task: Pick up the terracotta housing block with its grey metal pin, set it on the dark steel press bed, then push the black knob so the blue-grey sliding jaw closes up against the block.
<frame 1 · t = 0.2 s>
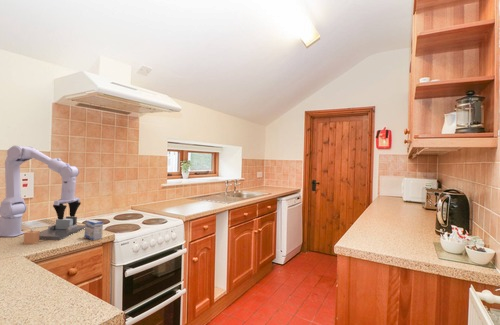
hand: (66, 217, 136), 10 cm above the worktop, tool pointing down, fingers open, 7 cm apart
medicine box: (93, 238, 138), on the worktop
press bed: (60, 233, 144), on the worktop
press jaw: (67, 222, 150), point 4 cm above the worktop, slide at 0.0 cm
housing block: (31, 242, 126), on the worktop
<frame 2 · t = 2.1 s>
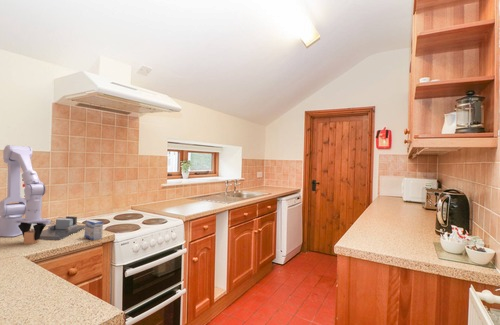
hand: (31, 239, 126), 1 cm above the worktop, tool pointing down, fingers closed on housing block, 4 cm apart
housing block: (31, 242, 126), on the worktop, touching gripper
everything else where it was.
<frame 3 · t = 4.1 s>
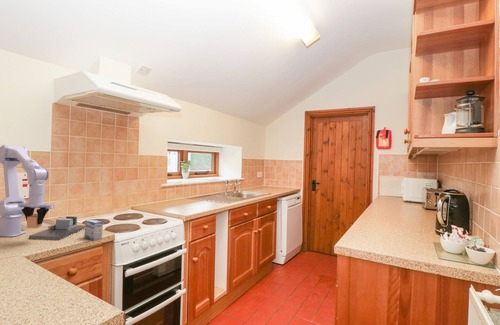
hand: (34, 223, 127), 8 cm above the worktop, tool pointing down, fingers closed on housing block, 4 cm apart
housing block: (34, 227, 127), point 7 cm above the worktop, touching gripper
everything else where it was.
when the fingers open (4 cm above the worktop, at t = 5.9 s): housing block drops 1 cm, resting on press bed.
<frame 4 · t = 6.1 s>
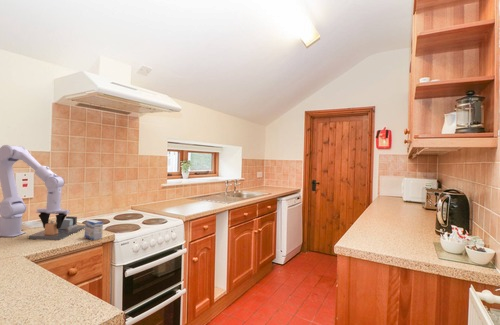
hand: (52, 228, 137), 4 cm above the worktop, tool pointing down, fingers open, 6 cm apart
housing block: (51, 233, 137), point 1 cm above the worktop, touching press bed
everything else where it was.
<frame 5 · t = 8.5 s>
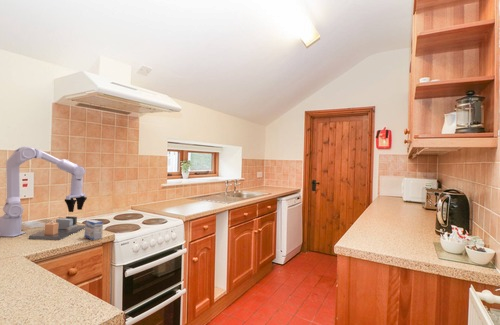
hand: (75, 210, 157), 9 cm above the worktop, tool pointing down, fingers open, 7 cm apart
nothing on the worktop moved.
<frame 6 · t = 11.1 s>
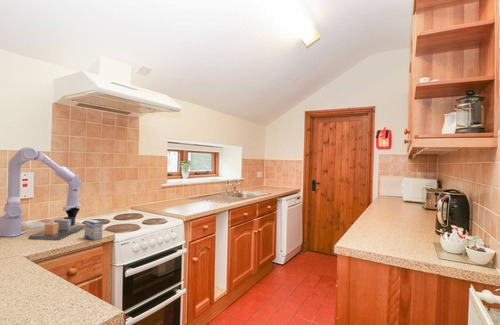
hand: (71, 221, 154), 4 cm above the worktop, tool pointing down, fingers closed
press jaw: (65, 223, 148), point 4 cm above the worktop, slide at 1.7 cm, touching gripper
everything else where it was.
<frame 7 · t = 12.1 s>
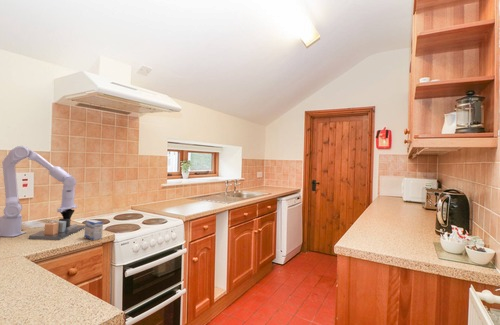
hand: (66, 223, 149), 4 cm above the worktop, tool pointing down, fingers closed
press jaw: (60, 225, 144), point 4 cm above the worktop, slide at 6.1 cm, touching gripper
everything else where it was.
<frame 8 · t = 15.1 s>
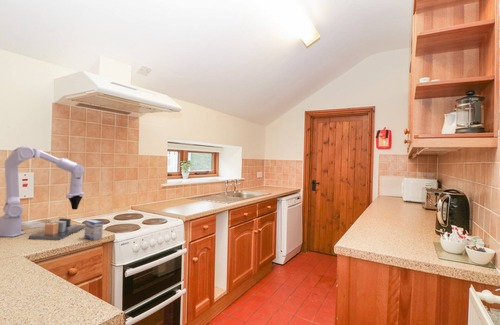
hand: (74, 209, 156), 10 cm above the worktop, tool pointing down, fingers closed
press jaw: (60, 225, 144), point 4 cm above the worktop, slide at 6.0 cm
everything else where it was.
at the end: housing block 0.4 cm from the target spot, point 1.5 cm above the worktop; housing block tilted 0°; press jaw slide at 6.0 cm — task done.
